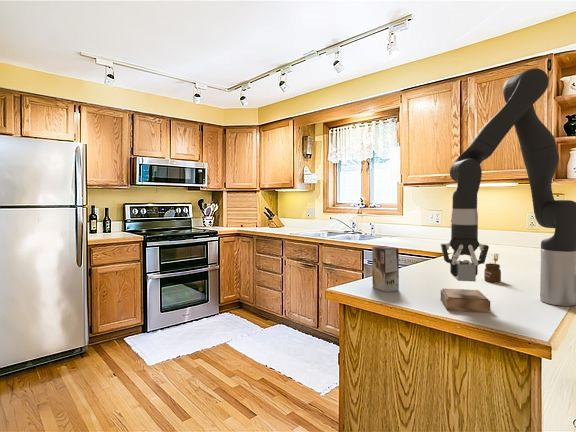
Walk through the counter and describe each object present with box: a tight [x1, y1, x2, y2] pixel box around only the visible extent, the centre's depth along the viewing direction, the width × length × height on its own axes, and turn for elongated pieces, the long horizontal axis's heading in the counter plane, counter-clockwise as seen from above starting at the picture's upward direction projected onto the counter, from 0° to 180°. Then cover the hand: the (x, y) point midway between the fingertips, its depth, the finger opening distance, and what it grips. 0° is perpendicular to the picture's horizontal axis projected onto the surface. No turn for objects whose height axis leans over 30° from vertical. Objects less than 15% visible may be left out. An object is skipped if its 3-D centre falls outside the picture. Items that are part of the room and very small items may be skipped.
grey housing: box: [453, 259, 477, 282], centre depth 113 cm, size 8×5×6 cm, turn 166°
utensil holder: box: [483, 253, 502, 284], centre depth 146 cm, size 6×6×12 cm
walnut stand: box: [440, 288, 491, 314], centre depth 113 cm, size 12×12×4 cm
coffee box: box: [371, 245, 400, 293], centre depth 136 cm, size 9×6×16 cm
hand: (463, 276), depth 113 cm, fingers closed on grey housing, 5 cm apart
